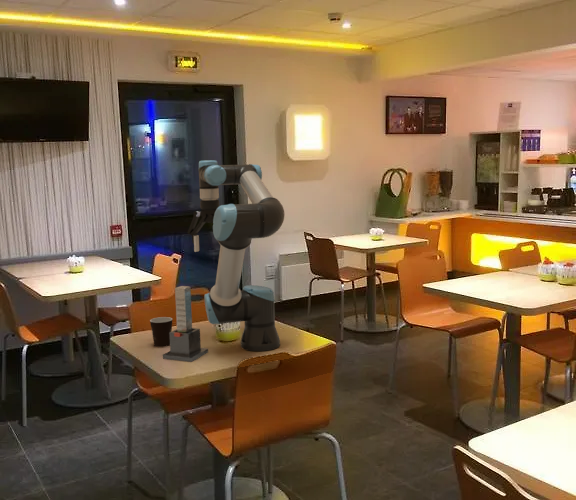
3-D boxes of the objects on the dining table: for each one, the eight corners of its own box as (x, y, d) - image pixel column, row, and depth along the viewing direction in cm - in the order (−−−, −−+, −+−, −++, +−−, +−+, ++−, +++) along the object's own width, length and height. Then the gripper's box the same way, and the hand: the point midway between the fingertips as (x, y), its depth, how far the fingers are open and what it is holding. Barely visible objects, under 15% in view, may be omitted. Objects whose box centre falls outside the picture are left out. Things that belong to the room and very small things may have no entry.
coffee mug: (168, 348, 239) (167, 322, 237) (147, 347, 240) (146, 322, 239) (179, 339, 250) (178, 315, 249) (159, 338, 252) (158, 315, 250)
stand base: (208, 352, 232) (207, 327, 230) (191, 362, 221) (190, 335, 219) (180, 349, 236) (179, 324, 235) (162, 358, 225) (161, 332, 224)
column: (192, 334, 229) (190, 286, 226) (186, 337, 224) (183, 288, 222) (183, 333, 230) (181, 286, 228) (176, 336, 226) (174, 288, 224)
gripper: (241, 198, 246) (243, 251, 249) (187, 198, 255) (189, 249, 258) (233, 200, 239) (235, 254, 242) (177, 199, 248) (179, 252, 251)
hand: (211, 252), depth 250 cm, fingers open, 13 cm apart
